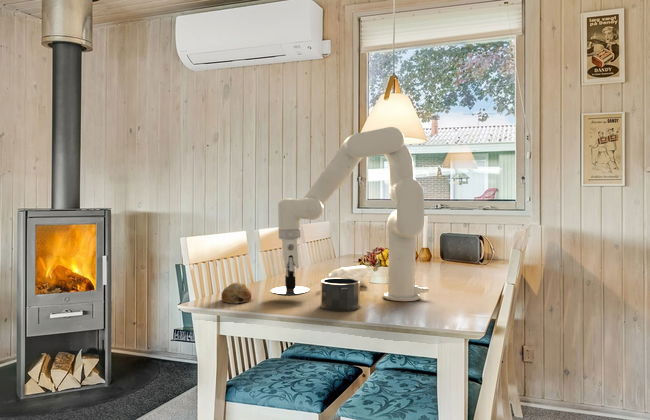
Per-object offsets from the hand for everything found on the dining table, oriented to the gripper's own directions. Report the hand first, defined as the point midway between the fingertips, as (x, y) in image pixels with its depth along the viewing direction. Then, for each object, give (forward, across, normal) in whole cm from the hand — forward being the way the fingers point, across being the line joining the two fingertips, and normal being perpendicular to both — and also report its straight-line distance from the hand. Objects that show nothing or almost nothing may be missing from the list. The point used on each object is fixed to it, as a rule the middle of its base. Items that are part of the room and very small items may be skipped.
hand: (290, 287), depth 180 cm
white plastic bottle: (+5, +22, -24) cm, 33 cm away
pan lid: (+1, 0, 0) cm, 1 cm away
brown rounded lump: (+4, +1, +19) cm, 19 cm away
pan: (+5, -12, -15) cm, 20 cm away
